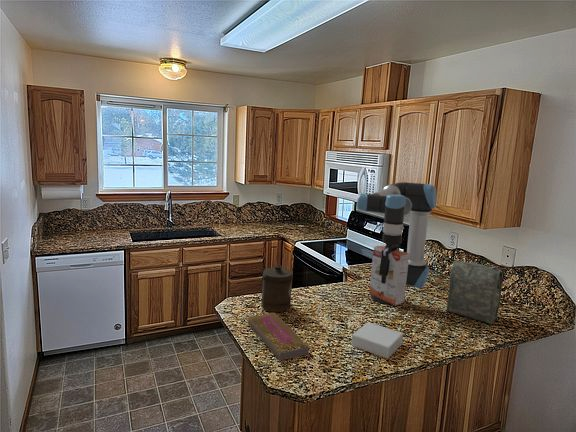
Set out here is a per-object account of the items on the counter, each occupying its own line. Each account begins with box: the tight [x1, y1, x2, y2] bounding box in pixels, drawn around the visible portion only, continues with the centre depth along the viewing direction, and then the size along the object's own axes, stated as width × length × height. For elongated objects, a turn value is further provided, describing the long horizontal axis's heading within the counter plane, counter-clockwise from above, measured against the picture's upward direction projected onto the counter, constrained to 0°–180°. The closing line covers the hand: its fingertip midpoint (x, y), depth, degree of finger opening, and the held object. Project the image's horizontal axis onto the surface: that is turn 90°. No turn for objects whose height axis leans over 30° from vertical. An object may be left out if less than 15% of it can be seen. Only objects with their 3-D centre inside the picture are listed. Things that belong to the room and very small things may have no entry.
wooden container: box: [261, 264, 293, 313], centre depth 198 cm, size 15×15×22 cm
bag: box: [445, 259, 504, 325], centre depth 199 cm, size 22×16×27 cm
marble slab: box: [351, 321, 404, 359], centre depth 166 cm, size 16×16×5 cm
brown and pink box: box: [245, 312, 313, 361], centre depth 167 cm, size 35×14×6 cm, turn 27°
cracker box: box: [369, 245, 409, 306], centre depth 160 cm, size 14×6×21 cm, turn 35°
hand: (387, 287), depth 161 cm, fingers closed on cracker box, 7 cm apart
